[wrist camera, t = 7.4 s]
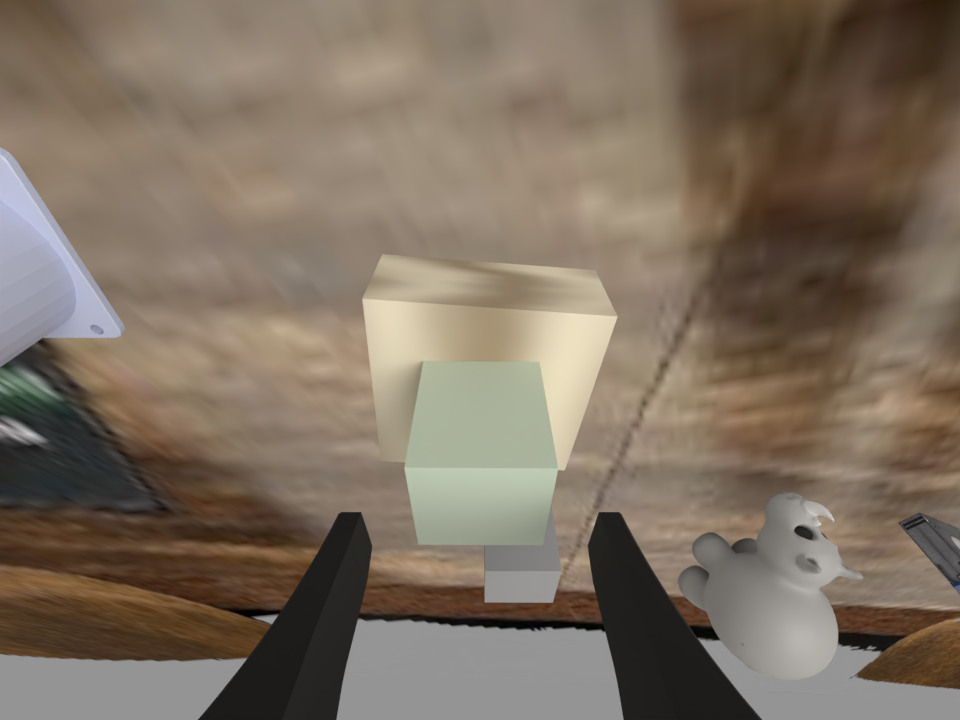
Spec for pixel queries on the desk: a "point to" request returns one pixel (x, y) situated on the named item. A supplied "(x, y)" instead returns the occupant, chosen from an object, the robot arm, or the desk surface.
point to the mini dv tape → (937, 544)
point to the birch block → (483, 334)
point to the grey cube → (523, 570)
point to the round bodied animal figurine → (772, 590)
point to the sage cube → (481, 454)
